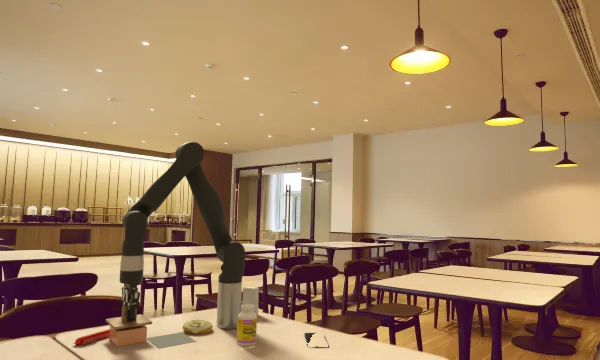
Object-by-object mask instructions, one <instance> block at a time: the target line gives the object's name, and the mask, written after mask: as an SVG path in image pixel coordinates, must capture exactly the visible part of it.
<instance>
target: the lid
mask: <svg viewBox="0 0 600 360" xmlns="http://www.w3.org/2000/svg"><path fill="white" fill-rule="evenodd" d="M132 305H134V303H133V304H132ZM127 315H128V305H124V304H122V305H121V316H119V317H111V318H110V317H109V318H106V319H105V323H107V324H108V325H109V327H110V326H111V327H112V328H113V329H114V330H116V329H123V328H129V327H136V326H143V325H145V326H148V325H153V321H152V320H150V319H149V318H148V317H146V316H145V315H143V314H138V308H136V309H135V319H134V320H133V321H128V320H127Z"/></svg>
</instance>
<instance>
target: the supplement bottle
mask: <svg viewBox="0 0 600 360" xmlns="http://www.w3.org/2000/svg"><path fill="white" fill-rule="evenodd" d="M254 309H255V305H253V304H243V305H241V310H242V311H241V312H240V313H239V314H238V322H237V328H236V344H237V345H239V346H242V347H243V346H244V347H245V346H246V347H248V346H253V345H256V343H257V328H258V327H257V325H258V315H257V314H256V313H255V312H254Z"/></svg>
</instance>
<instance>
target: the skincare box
mask: <svg viewBox="0 0 600 360" xmlns="http://www.w3.org/2000/svg"><path fill="white" fill-rule="evenodd" d="M242 301H243V304H253V305H255V309H254V312H255V313H256V314H257V316H258V315H259V286H246V285H245V286H244V287H243V288H242Z"/></svg>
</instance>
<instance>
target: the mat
mask: <svg viewBox="0 0 600 360" xmlns="http://www.w3.org/2000/svg"><path fill="white" fill-rule="evenodd" d="M146 341H148V342H149V343H151V344H152V345H153V346H154V347H155V348H157V349H158V350H160V349H165V348H170V347H176V346H182V345H186V344H192V343H197V341H196V340H195V339H194V338H192V337H190V336H188V335H187V334H186V333H185V332H182V331H180V332H173V333H169V334H168V333H167V334H163V335H157V336H152V337H151V336H150V337H147V339H146Z"/></svg>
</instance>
